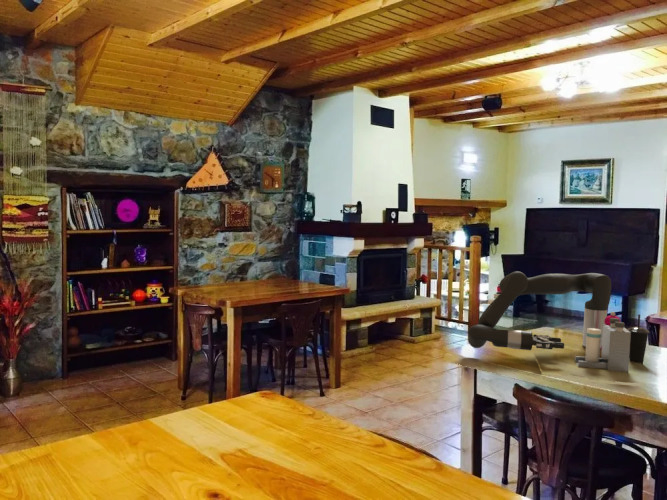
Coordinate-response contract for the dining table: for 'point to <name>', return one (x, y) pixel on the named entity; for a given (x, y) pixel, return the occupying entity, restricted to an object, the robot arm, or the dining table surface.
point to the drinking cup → (638, 343)
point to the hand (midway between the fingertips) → (562, 343)
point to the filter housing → (611, 351)
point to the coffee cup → (593, 345)
